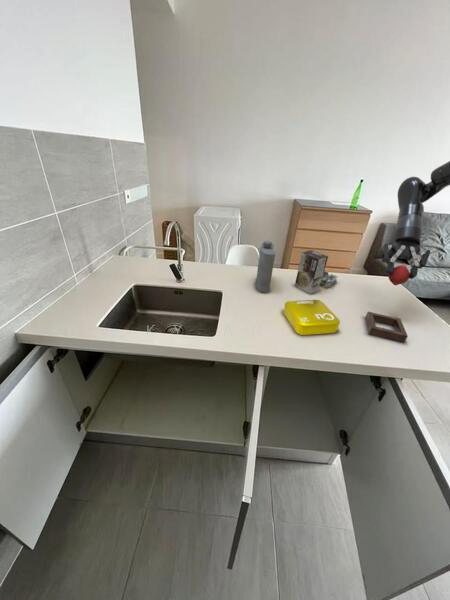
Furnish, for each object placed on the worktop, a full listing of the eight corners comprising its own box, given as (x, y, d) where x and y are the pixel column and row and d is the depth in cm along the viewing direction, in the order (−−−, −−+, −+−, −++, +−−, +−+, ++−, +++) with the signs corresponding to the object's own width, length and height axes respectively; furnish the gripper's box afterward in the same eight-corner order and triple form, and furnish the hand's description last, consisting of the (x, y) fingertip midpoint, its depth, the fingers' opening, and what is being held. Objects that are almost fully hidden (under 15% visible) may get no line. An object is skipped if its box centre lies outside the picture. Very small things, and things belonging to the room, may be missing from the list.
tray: (397, 325, 88) (400, 318, 86) (403, 343, 79) (407, 336, 78) (365, 317, 91) (367, 311, 89) (368, 334, 82) (371, 327, 81)
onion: (386, 287, 83) (396, 265, 79) (383, 279, 88) (392, 259, 83) (406, 290, 81) (416, 268, 77) (402, 283, 86) (411, 262, 82)
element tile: (317, 308, 95) (320, 298, 92) (339, 332, 82) (343, 321, 80) (281, 310, 92) (283, 299, 90) (298, 336, 80) (301, 324, 77)
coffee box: (319, 290, 108) (329, 256, 99) (309, 294, 104) (319, 259, 96) (303, 282, 114) (311, 249, 106) (293, 285, 111) (301, 251, 102)
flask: (255, 277, 116) (261, 235, 106) (268, 278, 116) (274, 237, 105) (255, 292, 104) (261, 247, 93) (269, 293, 103) (276, 248, 93)
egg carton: (322, 276, 121) (324, 269, 118) (337, 281, 116) (339, 274, 114) (313, 283, 114) (315, 275, 111) (328, 289, 109) (331, 280, 107)
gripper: (389, 222, 83) (381, 267, 79) (439, 228, 79) (432, 276, 75) (380, 233, 90) (373, 275, 86) (426, 240, 86) (419, 284, 82)
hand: (401, 275), depth 81 cm, fingers closed on onion, 5 cm apart
